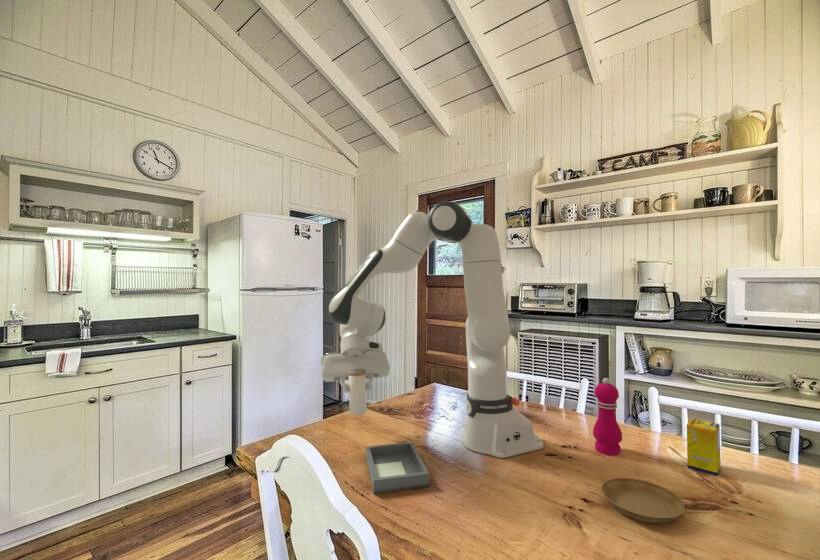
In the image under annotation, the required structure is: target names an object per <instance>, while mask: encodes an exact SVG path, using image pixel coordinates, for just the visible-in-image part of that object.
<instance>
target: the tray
mask: <svg viewBox="0 0 820 560" xmlns="http://www.w3.org/2000/svg"><path fill="white" fill-rule="evenodd" d="M365 459H366V460H365V461H366V464H367V468H368V474H369V478H370V483H371V487H372V493H373V494H374V495H377V494H385V493H391V492H393V493H394V492H399V491H400V492H401V491H407V490H414V489H423V488H428V487H430V485H431V483H430V479H431V477H430V475H431V473H430V472H429V470H428V468H427V466H426V463H424V460H423V458H422V457H421V455H420V453H419V451H418V449H417V447H416V445H415V443H414V441H406V442H397V443H388V444H380V445H369V446H365Z"/></svg>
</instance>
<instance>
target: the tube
mask: <svg viewBox="0 0 820 560" xmlns="http://www.w3.org/2000/svg"><path fill="white" fill-rule="evenodd" d="M348 375H349V380H348V385H349V393H348V403H349V404H348V405H349V409H348V410H349V415H352V416H361V415H365V414H366V413H367V412H368V411H367V409H368V408H367V407H368V406H367V403H368V402H367V391H366V383H367V379H366V370H364V369H355V370H350V371H348Z"/></svg>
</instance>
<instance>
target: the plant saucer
mask: <svg viewBox="0 0 820 560" xmlns="http://www.w3.org/2000/svg"><path fill="white" fill-rule="evenodd" d="M600 490H601V493H602V495H603V496H604V497H605V499H606V500H607V501H608V502H609V503H610V505H611V506H613V508H615V509H616V510H617V511H618V512H620V513H621V514H623V515H624V516H627V518H630V519H633V520H636V521H638V522H643V523H648V524H655V525H656V524H658V525H659V524H660V525H661V524H667V523H670V522H671V521H674V520H675V519H678V518H679V517H681V515H682V514H684V512H685V510H686V506H685V503H684V501H683V500H682V499H681V498H680V497H679V496H678V494H675V493H674V492H672V491H670V490H669V489H667V488H665V487H663V486H661V485H659V484H656V483H653V482H649V481H647V480H643V479H638V478H632V477H615V478H609V479H608V480H605V481H604V482H603V483H602V484H601V488H600Z"/></svg>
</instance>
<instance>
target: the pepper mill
mask: <svg viewBox="0 0 820 560" xmlns="http://www.w3.org/2000/svg"><path fill="white" fill-rule="evenodd" d="M593 393H594V396H595V397H596V406H597V407H598V414H597V416H598V417H597V419H596V421H595V423H594V425H593V429H592V436H593V438H594V439H595V441H594V449H595V450H596V452H598V453H600V454H602V455H607V456H618V455H620V454H621V445H620V443H621V442H622V441H623V433H622V430H621V428H620V426H619V424H618V422H617V419H616V418H617V417H616V409H617V408H618V406H617V405H618V402H617V400H619V397H620V395H619V394H620V392H619V390H618V388H617V387H616V386H615V385H614V384H612V383H611V380H610V379H609V378H608V377H604V378H603V379H602V382H601V383H599V384H597V385H596V386H595V388H594V392H593Z"/></svg>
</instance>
